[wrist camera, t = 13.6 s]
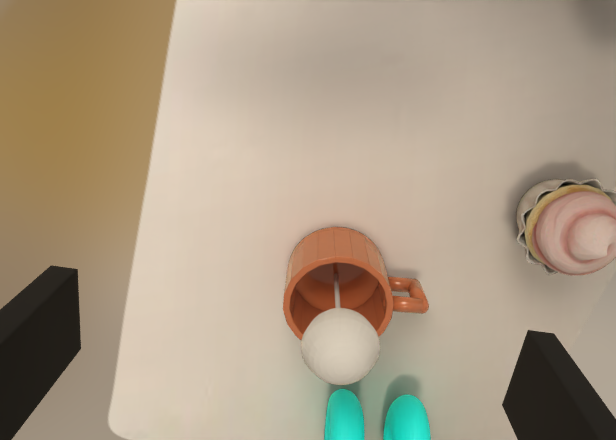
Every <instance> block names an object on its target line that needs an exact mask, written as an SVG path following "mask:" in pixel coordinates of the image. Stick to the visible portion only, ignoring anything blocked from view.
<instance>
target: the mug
mask: <svg viewBox="0 0 616 440" xmlns="http://www.w3.org/2000/svg"><path fill="white" fill-rule="evenodd" d="M335 273H337V274H338V279H339V293H340V307H341V308H346V309H351V310H353V311H356V312H358V313H360V314H361V315H362V316H364V317H365V318H366V319H367V320H368V321H369V322H370V324H371V325H372V326H373V327H374V329H375V330H376V332H377V334H378V337H379V336H380V335H381V334H382V333H383V332H384V331H385V329H386V327H387V325H388V324H389V322H390V320H391V318H392V312H393V311H396V312H407V313H419V314H423V313H425V312H427V310H428V308H429V304H428V301H427V299H426V296H425V294H424V291H423V289H422V286H421V284H420V282H419V281H418V280H417V279H410V278H398V277H388V276H387V272H386V269H385V265H384V261H383V258H382V256H381V253H380V252H379V250H378V248H377V247H376V245H375V244H374V243H373V242H372V241H371V240H370V239H369V238H367V237H366V236H365V235H363V234H361V233H360V232H357V231H355V230H352V229H348V228H342V227H331V228H325V229H321V230H318V231H315V232H313V233H311V234H310V235H308V236H307V237H305V238H304V239H303V240H302V241H301V242H300V243H299V244H298V245H297V246H296V248H295V249H294V251H293V253H292V255H291V257H290V260H289V264H288V270H287V277H286V284H285V292H284V302H283V311H284V314H285V318H286V321H287V324H288V325H289V327H290V328H291V330H292V331H293V333H294V334H295V335H296V336H297V337H298V338H299V339H300V340H302V337H303V334H304V332H305V331H306V329H307V327H308V326H309V324H310V323H311V322H312V320H313V319H314V318H315V317H316V316H318V315H319V314H321V313H322V312H324V311H327V310H329V309H333V308H335V291H334V274H335ZM392 291H395V292H407V293H409V296H410V297H401V296H392Z"/></svg>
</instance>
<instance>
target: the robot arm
mask: <svg viewBox="0 0 616 440" xmlns="http://www.w3.org/2000/svg"><path fill="white" fill-rule="evenodd" d="M80 341H81V340H80V316H79V292H78V270H77V269H72V268H65V267H58V266H50V267H49V268H48V269H47V270H45V271H44V272H43V273H42V274H41V275H40V276H39V277H37V278H36V279H35V280H34V281H33V282H32V283H31V284H29V285H28V286H27V287H26V288H25V289H24V290H22V291H21V292H20V293H19V294H18V295H17V296H16V297H14V298H13V299H12V300H11V301H10V302H9V303H7V304H6V305H5V306H4V307H3V308H2V309H1V310H0V440H11V439H12V438H13V437H14V436H15V434H16V433H17V432H18V430H19V429H20V428H21V426H22V425H23V424H24V422H25V421H26V420H27V419H28V417H29V416H30V415H31V413H32V412H33V411H34V409H35V408H36V407H37V405H38V404H39V403H40V402H41V400H42V399H43V398H44V396H45V395H46V394H47V392H48V391H49V390H50V388H51V387H52V386H53V384H54V383H55V382H56V381H57V379H58V378H59V377H60V375H61V374H62V372H63V371H64V370H65V369H66V367H67V366H68V365H69V363H70V362H71V361H72V360H73V358H74V357H75V356H76V354H77V353H78V352H79V350H80V349H81V342H80ZM502 406H503V408H504V410H505V412H506V414H507V417H508V419H509V421H510V423H511V426H512V428H513V430H514V432H515V434H516V437H517V439H518V440H616V419H615V418H614V416H613V415H612V413H611V412H610V411H609V409H608V408H607V406H606V405H605V404H604V402H603V401H602V399H601V398H600V397H599V395H598V394H597V393H596V391H595V390H594V388H593V387H592V386H591V384H590V383H589V381H588V380H587V379H586V377H585V376H584V375H583V373H582V372H581V370H580V369H579V368H578V366H577V365H576V364H575V362H574V361H573V359H572V358H571V357H570V355H569V354H568V352H567V351H566V350H565V348H564V347H563V345H562V344H561V343H560V341H559V340H558V339H557V337H556V336H555V334H553V333H545V332H538V331H530V330H528V332H527V334H526V337H525V340H524V343H523V346H522V349H521V352H520V355H519V358H518V361H517V364H516V366H515V369H514V372H513V375H512V378H511V381H510V384H509V387H508V390H507V393H506V395H505V398H504V401H503V404H502Z"/></svg>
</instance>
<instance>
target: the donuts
mask: <svg viewBox="0 0 616 440" xmlns="http://www.w3.org/2000/svg"><path fill="white" fill-rule="evenodd" d="M324 440H364V417H363V411H362V407H361V405H360V402H359V400H358V398H357V397H356V396H355V395H354V394H353V393H352V392H351V391H349V390H347V389H339V390H336V391H335V392H333V394H332V395H331V396H330V398H329V402H328V406H327V413H326V423H325V436H324ZM383 440H431V437H430V427H429V421H428V417H427V413H426V410H425V408H424V406H423V404H422V403H421V401H420V400H419V399H418V398H416V397H415V396H413V395H408V394H406V395H402V396H399V397H398V398H396V399H395V400H394V401H393V403H392V404H391V406H390V408H389V410H388V412H387V416H386V420H385V426H384V436H383Z"/></svg>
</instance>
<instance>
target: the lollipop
mask: <svg viewBox="0 0 616 440" xmlns="http://www.w3.org/2000/svg"><path fill="white" fill-rule="evenodd" d="M334 291H335V308H333V309H329V310H327V311H324V312H322V313H321V314H319V315H318V316H316V317H315V318H314V319H313V320H312V322H311V323H310V324H309V326H308V327H307V329H306V331H305V332H304V334H303V337H302V340H301V351H302V357H303V359H304V362H305V363H306V365H307V366H308V367H309V369H310V370H311V371H312V372H313V373H314V374H315V375H316V376H318V377H319V378H320V379H322V380H323V381H325V382H328V383H330V384H335V385H347V384H351V383H355V382H357V381H359V380H361V379H362V378H363V377H365V376H366V375H367V374H368V372H369V371H370V370H371V369H372V368H373V366H374V365H375V363H376V362H377V360H378V357H379V353H380V341H379V337H378V334H377V332H376V330H375V329H374V327H373V326H372V325H371V324H370V322H369V321H368V320H367V319H366V318H365V317H364V316H362V315H361V314H360V313H358V312H356V311H353V310H351V309H346V308H341V307H340V293H339V279H338V274H337V273H335V274H334Z"/></svg>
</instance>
